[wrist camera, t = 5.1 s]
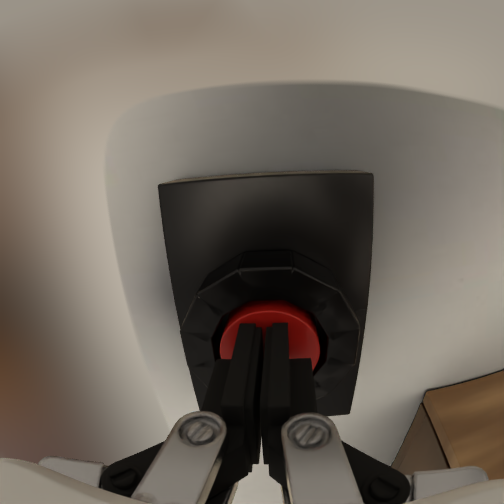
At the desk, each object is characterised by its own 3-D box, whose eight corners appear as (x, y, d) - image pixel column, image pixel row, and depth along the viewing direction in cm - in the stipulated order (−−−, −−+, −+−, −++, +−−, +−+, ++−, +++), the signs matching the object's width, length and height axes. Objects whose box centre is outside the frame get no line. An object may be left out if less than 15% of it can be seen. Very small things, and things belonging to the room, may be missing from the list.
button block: (175, 179, 13) (135, 190, 9) (358, 170, 12) (391, 177, 8) (208, 389, 16) (193, 440, 13) (344, 388, 16) (354, 439, 12)
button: (222, 289, 12) (213, 311, 10) (316, 286, 11) (322, 309, 9) (231, 362, 13) (225, 389, 11) (314, 361, 12) (317, 388, 11)
